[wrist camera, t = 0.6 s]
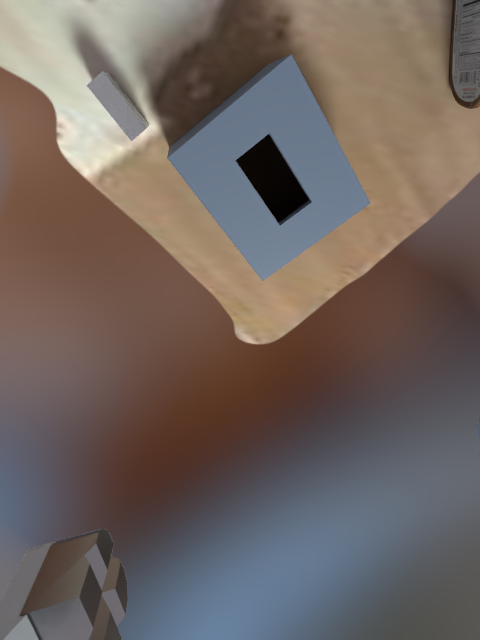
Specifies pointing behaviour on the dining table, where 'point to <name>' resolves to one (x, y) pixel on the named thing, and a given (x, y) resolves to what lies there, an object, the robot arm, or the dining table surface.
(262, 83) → the coin box
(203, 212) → the dining table surface
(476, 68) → the tin
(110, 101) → the grey rectangular block
